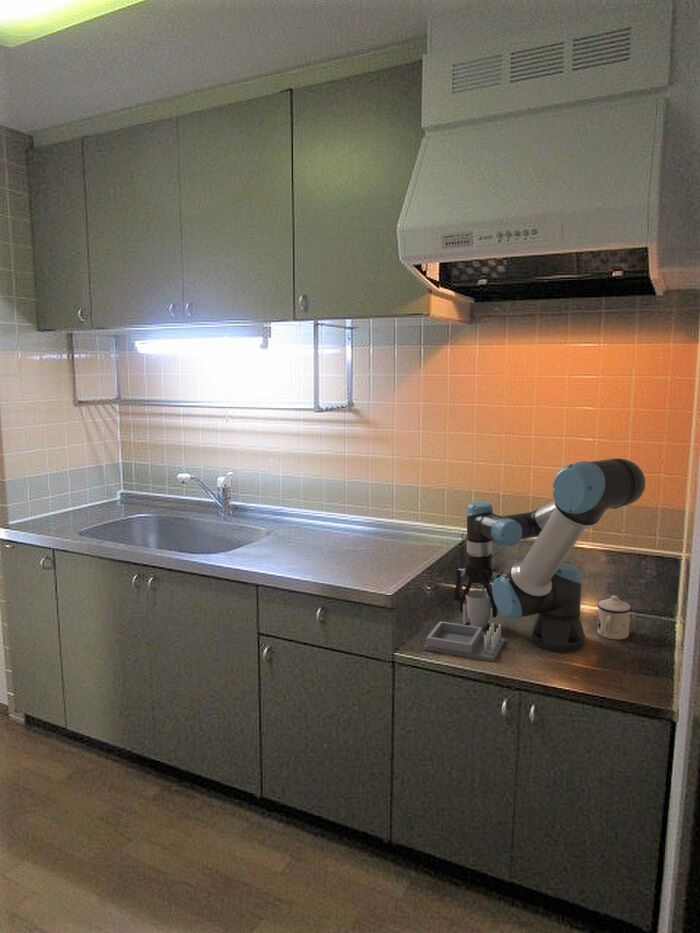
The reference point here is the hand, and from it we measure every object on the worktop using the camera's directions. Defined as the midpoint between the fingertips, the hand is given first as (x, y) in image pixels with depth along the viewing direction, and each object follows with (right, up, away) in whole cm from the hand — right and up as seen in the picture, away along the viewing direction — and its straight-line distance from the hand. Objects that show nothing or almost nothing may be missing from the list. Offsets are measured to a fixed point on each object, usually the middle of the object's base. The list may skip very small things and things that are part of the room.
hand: (478, 624), depth 203 cm
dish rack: (-7, -3, -14) cm, 16 cm away
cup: (0, 0, 0) cm, 0 cm away
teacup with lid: (+38, -1, -10) cm, 39 cm away
